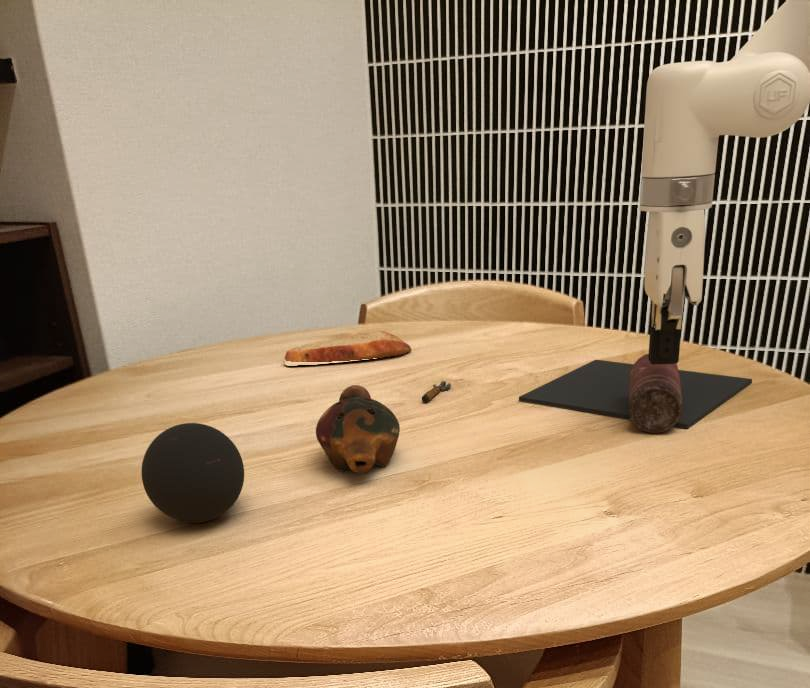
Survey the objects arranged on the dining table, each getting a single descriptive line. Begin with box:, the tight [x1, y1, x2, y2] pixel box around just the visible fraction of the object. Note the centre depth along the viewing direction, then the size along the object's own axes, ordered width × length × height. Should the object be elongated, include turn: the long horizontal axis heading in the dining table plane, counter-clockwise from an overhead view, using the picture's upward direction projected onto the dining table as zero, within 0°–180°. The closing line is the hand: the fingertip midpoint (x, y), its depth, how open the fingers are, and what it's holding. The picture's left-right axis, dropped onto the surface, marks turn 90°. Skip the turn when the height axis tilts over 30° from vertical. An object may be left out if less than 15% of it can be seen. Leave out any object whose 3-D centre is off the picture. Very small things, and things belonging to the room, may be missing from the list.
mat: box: [518, 359, 753, 430], centre depth 113 cm, size 24×22×1 cm
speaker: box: [141, 422, 245, 524], centre depth 82 cm, size 10×10×10 cm
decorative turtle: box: [315, 384, 401, 474], centre depth 94 cm, size 10×15×8 cm, turn 10°
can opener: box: [421, 380, 452, 403], centre depth 118 cm, size 9×2×1 cm, turn 152°
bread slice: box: [283, 330, 412, 362], centre depth 140 cm, size 18×18×4 cm
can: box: [629, 353, 683, 434], centre depth 102 cm, size 6×6×14 cm
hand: (663, 362), depth 96 cm, fingers closed
